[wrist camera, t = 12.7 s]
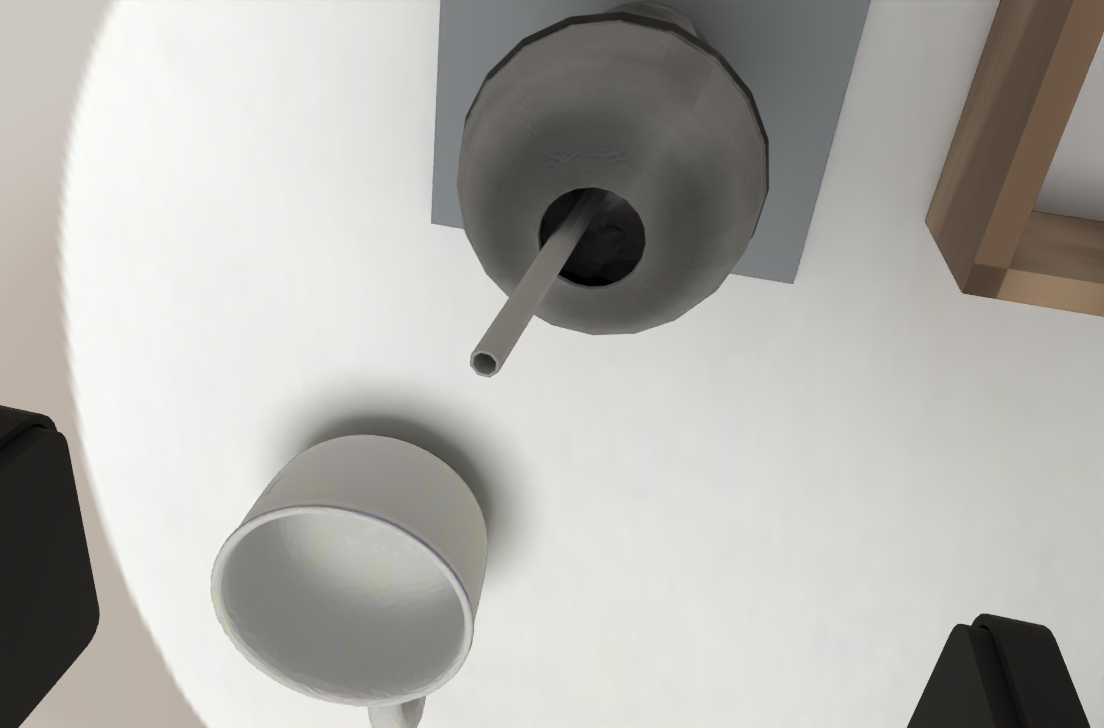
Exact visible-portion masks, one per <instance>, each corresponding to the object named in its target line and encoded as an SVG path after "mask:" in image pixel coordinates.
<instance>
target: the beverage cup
mask: <svg viewBox="0 0 1104 728" xmlns="http://www.w3.org/2000/svg"><path fill="white" fill-rule="evenodd" d="M456 186H457V192H458V198H459V203H460V209H461V215H462V220H463V226H464V230H465V233H466V235H467V238H468V240H469V241H470V243H471V245H472V247H473V249H474V251H475V253H476V255H477V257H478V259H479V261H480V263H481V265H482V266H483V268H484V270H485V272H486V274H487V275H488V276H489V277H490V278H491V279H492V280H493V281H494V282H495V283H496V284H497V285H498V286H499V288H500V289H501V290H502V291H503V292H504V293H505V294H506V295H507V296H508V297H509V299H508V300H507V302H506V303H505V305H504V306H503V308H502V309H501V311H500V312H499V314H498V315H497V317H496V318H495V320H494V321H493V323H492V324H491V326H490V327H489V329H488V330H487V332H486V333H485V335H484V336H483V338H482V339H481V341H480V342H479V344H478V345H477V347H476V348H475V350H474V351H473V353H472V354H471V360H470V366H471V367H472V368H473V369H474V371H475V372H476V373H477V374H478V375H481V376H485V377H491V376H493V375H495V374H496V373H498V372H499V370H500V369H501V367H502V365H503V364H504V362H505V361H506V359H507V357H508V356H509V354H510V352H511V351H512V349H513V347H514V346H515V344H516V343H517V341H518V339H519V338H520V336H521V334H522V333H523V331H524V329H525V328H526V326H527V324H528V323H529V321H530V320H531V318H532V316H533V315H536V316H537V317H539V318H541V319H543V320H544V321H546V322H548V323H550V324H551V325H554V326H558V327H562V328H566V329H570V330H575V331H579V332H583V333H587V334H591V335H608V334H635V333H638V332H641V331H644V330H647V329H650V328H653V327H656V326H659V325H662V324H665V323H668V322H671V321H674V320H676V319H677V318H679V317H680V316H682V315H683V314H685V313H686V312H687V311H689V310H690V309H692V308H693V307H694V306H696V305H697V304H699V303H700V302H701V301H703V300H704V299H706V298H707V297H708V296H710V295H711V294H713V293H714V292H715V291H717V289H718V288H719V287H720V285H721V284H722V283H723V281H724V280H725V279H726V277H727V276H728V275H729V273H730V272H731V271H732V269H733V268H734V267H735V265H736V264H737V262H738V261H739V260H740V258H741V257H742V256H743V254H744V252H745V251H746V249H747V247H748V244H749V241H750V240H751V238H752V237H753V235H754V233H755V230H756V227H757V224H758V221H759V218H760V215H761V212H762V209H763V206H764V203H765V200H766V197H767V194H768V191H769V139H768V136H767V134H766V131H765V128H764V125H763V122H762V119H761V117H760V114H759V111H758V108H757V105H756V102H755V100H754V97H753V94H752V92H751V90H750V89H749V88H748V87H747V85H746V84H745V83H744V82H743V80H742V79H741V78H740V77H739V75H738V74H737V73H736V72H735V70H734V69H733V68H732V67H731V65H730V64H729V63H728V62H727V60H726V59H725V58H724V57H723V55H722V54H721V53H720V52H719V51H718V50H716V49H715V48H713V47H711V46H710V45H709V44H708V42H707V40H706V39H705V37H704V36H703V35H702V34H701V32H700V31H699V30H698V29H697V27H696V26H695V25H694V24H693V22H692V21H691V20H690V19H689V18H688V17H686V16H685V15H683V14H682V13H680V12H678V11H677V10H675V9H674V8H672V7H670V6H668V5H663V4H659V3H655V2H651V1H645V2H636V3H627V4H621V5H619V6H617V7H615V8H613V9H611V10H608V11H606V12H604V13H599V14H590V15H580V16H571V17H568V18H566V19H564V20H562V21H559V22H557V23H555V24H553V25H551V26H549V27H547V28H544V29H542V30H540V31H538V32H536V33H534V34H532V35H530V36H527V37H525V38H523V39H522V40H521V41H520V42H519V43H518V44H517V45H516V46H515V47H514V48H513V49H512V50H511V51H510V52H509V53H508V54H507V55H506V56H505V57H504V58H503V59H502V60H501V61H500V62H499V63H498V64H497V65H496V66H494V67H493V68H492V69H491V70H490V71H489V72H488V73H487V75H486V77H485V79H484V81H483V83H482V85H481V87H480V89H479V91H478V93H477V95H476V97H475V99H474V101H473V103H472V105H471V107H470V109H469V111H468V113H467V115H466V117H465V124H464V131H463V137H462V144H461V151H460V158H459V168H458V175H457V185H456Z"/></svg>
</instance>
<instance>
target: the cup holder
mask: <svg viewBox="0 0 1104 728" xmlns="http://www.w3.org/2000/svg"><path fill="white" fill-rule="evenodd" d="M1103 32H1104V0H1000V3H999V6H998V9H997V12H996V15H995V18H994V21H993V24H992V27H991V30H990V33H989V36H988V39H987V41H986V44H985V47H984V50H983V53H982V56H981V59H980V62H979V65H978V68H977V71H976V74H975V77H974V80H973V83H972V85H971V88H970V91H969V94H968V97H967V100H966V103H965V106H964V109H963V112H962V115H961V118H960V121H959V124H958V126H957V129H956V132H955V135H954V138H953V141H952V144H951V147H950V150H949V153H948V156H947V159H946V162H945V165H944V168H943V170H942V173H941V176H940V179H939V182H938V185H937V188H936V191H935V194H934V197H933V200H932V203H931V206H930V209H929V212H928V214H927V217H926V220H925V223H926V225H927V227H928V229H929V231H930V233H931V235H932V236H933V238H934V240H935V242H936V244H937V246H938V248H939V250H940V252H941V254H942V256H943V257H944V259H945V261H946V263H947V265H948V267H949V269H950V271H951V273H952V275H953V277H954V279H955V280H956V282H957V284H958V286H959V288H960V290H961V292H962V293H964V294H970V295H976V296H982V297H988V298H994V299H1000V300H1006V301H1012V302H1018V303H1024V304H1030V305H1036V306H1042V307H1048V308H1054V309H1060V310H1066V311H1072V312H1078V313H1084V314H1090V315H1096V316H1102V317H1104V222H1100V221H1093V220H1087V219H1080V218H1074V217H1068V216H1061V215H1055V214H1049V213H1042V212H1036V211H1032V208H1033V206H1034V203H1035V201H1036V199H1037V196H1038V194H1039V191H1040V189H1041V186H1042V184H1043V181H1044V179H1045V176H1046V174H1047V171H1048V169H1049V166H1050V164H1051V161H1052V159H1053V156H1054V154H1055V151H1056V149H1057V146H1058V144H1059V141H1060V139H1061V136H1062V134H1063V132H1064V129H1065V127H1066V124H1067V122H1068V119H1069V117H1070V114H1071V112H1072V109H1073V107H1074V104H1075V102H1076V99H1077V97H1078V94H1079V92H1080V89H1081V87H1082V84H1083V82H1084V79H1085V77H1086V74H1087V72H1088V69H1089V67H1090V65H1091V62H1092V60H1093V57H1094V55H1095V52H1096V50H1097V47H1098V45H1099V42H1100V40H1101V37H1102V35H1103Z"/></svg>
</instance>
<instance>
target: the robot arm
mask: <svg viewBox="0 0 1104 728" xmlns="http://www.w3.org/2000/svg"><path fill="white" fill-rule="evenodd" d="M99 616H100V615H99V606H98V600H97V595H96V590H95V584H94V580H93V574H92V569H91V564H90V558H89V554H88V548H87V542H86V538H85V533H84V527H83V522H82V516H81V511H80V506H79V501H78V495H77V490H76V485H75V480H74V475H73V469H72V464H71V459H70V454H69V448H68V444H67V441H66V438H65V437H64V435H63V434H62V433H60V432H57V429H56V427H55V424H54V422H53V421H52V420H51V419H50V418H49V417H48V416H45V415H43V414H39V413H34V412H29V411H25V410H20V409H15V408H10V407H6V406H1V405H0V728H19V726H20V725H21V724H22V723H23V722H24V720H25V719H26V718H27V717H28V716H29V714H30V713H31V712H32V711H33V710H34V709H35V707H36V706H37V705H38V704H39V703H40V701H41V700H42V699H43V698H44V697H45V696H46V694H47V693H48V692H49V691H50V690H51V688H52V687H53V686H54V685H55V684H56V683H57V681H58V680H59V679H60V678H61V677H62V675H63V674H64V673H65V672H66V670H68V668H69V667H70V666H71V665H72V664H73V662H74V661H75V660H76V659H77V658H78V656H79V655H80V654H81V653H82V652H83V651H84V649H85V648H86V647H87V646H88V644H89V643H90V641H91V640H92V638H93V636H94V634H95V632H96V629H97V626H98V623H99ZM907 728H1090V725H1089V723H1088V720H1087V718H1086V715H1085V712H1084V710H1083V707H1082V705H1081V702H1080V700H1079V697H1078V695H1077V692H1076V690H1075V687H1074V685H1073V682H1072V680H1071V677H1070V675H1069V672H1068V670H1067V667H1066V665H1065V662H1064V660H1063V657H1062V655H1061V652H1060V649H1059V647H1058V644H1057V642H1056V639H1055V638H1054V636H1053V634H1052V632H1051V630H1049V629H1048V628H1047V627H1045V626H1043V625H1038V624H1034V623H1029V622H1024V621H1019V620H1015V619H1010V618H1005V617H1001V616H996V615H991V614H980V615H979V616H978V617H977V618H976V619H975V620H974V622H973V623H972V625H971V626H969V625H965V624H957V625H956V626H955V627H954V628H953V630H952V632H951V633H950V635H949V638H948V640H947V642H946V644H945V646H944V648H943V651H942V653H941V655H940V657H939V659H938V661H937V663H936V666H935V668H934V670H933V672H932V674H931V676H930V679H929V681H928V683H927V685H926V687H925V689H924V692H923V694H922V696H921V698H920V700H919V702H918V705H917V707H916V709H915V711H914V713H913V715H912V718H911V720H910V722H909V724H908V726H907Z"/></svg>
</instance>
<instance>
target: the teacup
mask: <svg viewBox="0 0 1104 728" xmlns="http://www.w3.org/2000/svg"><path fill="white" fill-rule="evenodd" d="M487 550H488V542H487V531H486V526H485V521H484V518H483V514H482V511H481V509H480V507H479V505H478V502H477V500H476V498H475V496H474V495H473V493H472V492H471V490H470V488H469V487H468V486H467V484H466V483H465V482H464V481H463V480H462V478H461V477H460V476H459V475H458V474H457V473H456V472H455V471H454V470H453V469H452V468H451V467H450V466H448V465H447V464H446V463H445V462H443V461H442V460H441V459H439V458H438V457H436V456H434V455H433V454H431V453H430V452H428V451H426V450H424V449H422V448H420V447H418V446H416V445H413V444H411V443H408V442H405V441H402V440H398V439H394V438H390V437H384V436H377V435H349V436H343V437H338V438H334V439H331V440H327V441H325V442H322V443H319V444H317V445H315V446H313V447H311V448H309V449H307V450H305V451H304V452H302V453H301V454H299V455H298V456H296V457H295V458H294V459H293V460H291V461H290V462H289V463H288V464H287V465H286V466H285V467H284V468H283V469H282V470H281V471H280V472H279V473H278V474H277V475H276V476H275V477H274V479H273V480H272V481H271V482H270V484H269V485H268V486H267V487H266V488H265V490H264V491H263V493H262V494H261V495H260V497H259V498H258V500H257V501H256V502H255V504H254V505H253V507H252V508H251V510H250V511H249V512H248V514H247V515H246V517H245V518H244V520H243V521H242V523H241V525H240V526H239V527H238V528H237V529H236V530H235V531H234V532H233V533H232V534H231V535H230V536H229V537H228V539H227V540H226V542H225V543H224V545H223V546H222V548H221V550H220V551H219V553H218V555H217V557H216V560H215V563H214V566H213V569H212V576H211V597H212V602H213V605H214V609H215V613H216V616H217V618H218V621H219V623H220V624H221V625H222V627H223V630H224V632H225V633H226V635H227V636H228V637H229V638H230V640H231V641H232V643H233V644H234V645H235V647H236V648H237V650H238V651H239V652H240V653H241V654H242V655H243V656H244V657H245V658H246V659H247V660H248V661H249V662H250V663H251V664H253V665H254V666H255V667H256V668H257V669H259V670H260V671H261V672H263V673H264V674H266V675H267V676H269V677H270V678H272V679H273V680H275V681H277V682H278V683H280V684H282V685H284V686H286V687H288V688H290V689H292V690H294V691H297V692H299V693H302V694H304V695H306V696H309V697H313V698H316V699H320V700H323V701H327V702H332V703H339V704H346V705H353V706H368V713H369V719H370V722H371V725H372V728H417V726H418V724H419V722H420V720H421V717H422V713H423V709H424V705H425V698H426V695H428V694H430V693H432V692H434V691H436V690H437V689H439V688H440V687H442V686H443V685H444V684H446V683H447V682H448V681H449V680H450V679H451V678H453V677H454V676H455V674H456V673H457V672H458V671H459V669H460V668H461V667H462V665H463V663H464V662H465V660H466V658H467V656H468V653H469V651H470V648H471V645H472V640H473V633H474V620H475V617H476V613H477V609H478V605H479V600H480V596H481V591H482V586H483V581H484V576H485V570H486V563H487Z"/></svg>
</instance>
